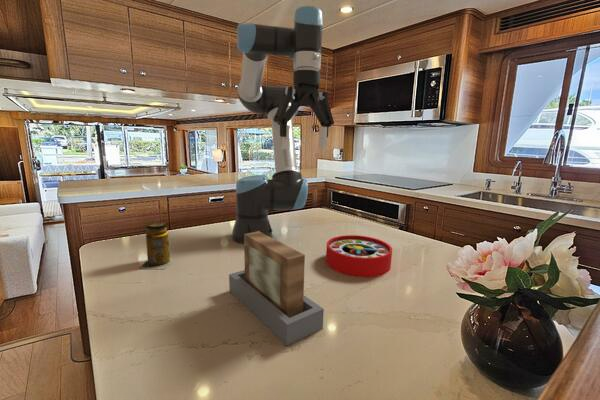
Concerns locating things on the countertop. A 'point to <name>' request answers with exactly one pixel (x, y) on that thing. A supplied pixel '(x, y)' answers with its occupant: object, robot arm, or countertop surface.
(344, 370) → the countertop surface
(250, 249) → the walnut frame
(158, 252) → the condiment
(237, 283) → the charcoal tray
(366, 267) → the toy clock
